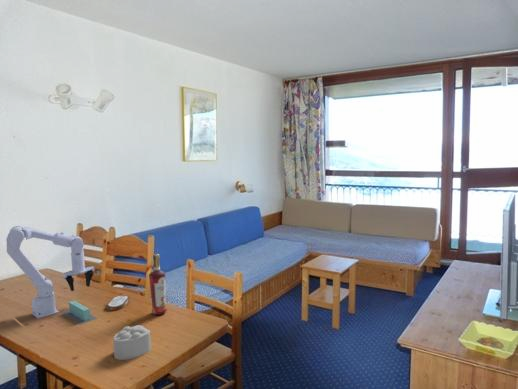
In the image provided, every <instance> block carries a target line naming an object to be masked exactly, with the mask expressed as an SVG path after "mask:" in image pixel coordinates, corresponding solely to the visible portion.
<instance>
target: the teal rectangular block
mask: <svg viewBox="0 0 518 389" xmlns="http://www.w3.org/2000/svg"><path fill="white" fill-rule="evenodd" d="M68 308H69V309H68V310H70V313H72V314H73V315H75V316H77V317H78V318H80V319H81V320H83V321H88V320H90V314H91V310H90V308H88V307H87V306H85V305H83V304H81V303H80V302H78V301H76V300H72V301H68Z"/></svg>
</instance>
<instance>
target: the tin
mask: <svg viewBox="0 0 518 389" xmlns="http://www.w3.org/2000/svg"><path fill="white" fill-rule="evenodd" d="M130 302H131V300H130V296H129V295H118V296H115V297H113V298H112V299H110V300H109V302H108V303H107V304H106V310H107V311H110V312H116V311H120V310H122V309H124V308H125V307H126V305H127V304H128V303H129V304H130ZM129 304H128V305H129ZM128 305H127V306H128Z"/></svg>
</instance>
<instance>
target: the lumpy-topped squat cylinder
mask: <svg viewBox="0 0 518 389" xmlns="http://www.w3.org/2000/svg"><path fill="white" fill-rule="evenodd" d="M151 338H152V337H151V331H150V329H147V328H145V326H144V325H139V324H137V325H134V326H129V325H127V326H124V327H123V328H121V330H120V331H119V332H117V333H115V335H114V336H113V339H112V341H113V355H114V356H113V357H114V359H116V360H120V361H124V360H125V361H126V360H131V359H132V360H133V359H135V358H138V357H140V356H142V355H145V354H147V353H149V352H150V351H151V350H152V340H151Z"/></svg>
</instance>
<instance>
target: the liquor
mask: <svg viewBox="0 0 518 389" xmlns="http://www.w3.org/2000/svg"><path fill="white" fill-rule="evenodd" d="M152 255H153V256H152V257H153V271H152V272H150V273H149V274H148V277H149V278H148V279H149V287H150V294H151V296H150V297H151V306H152V308H151V309H152V310H151V313H152V314H153V315H155V316H161V315H160V314H162V315H163V313H165V312H167V307H166V272H165V271H163V270H161V266H160V265H161V264H160V254H159V253H155V254H152Z"/></svg>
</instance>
